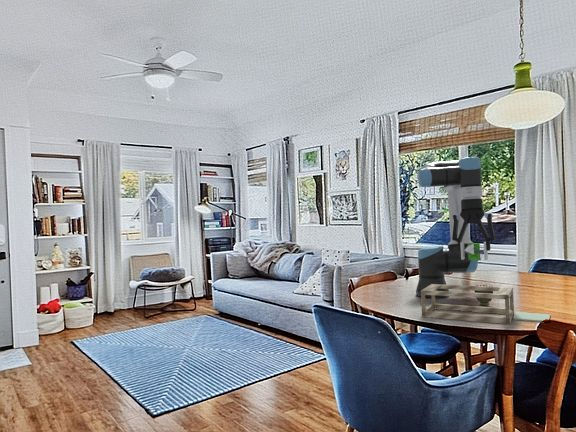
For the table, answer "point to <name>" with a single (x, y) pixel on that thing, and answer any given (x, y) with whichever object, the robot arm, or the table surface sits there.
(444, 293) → the crate
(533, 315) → the felt pad
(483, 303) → the cup
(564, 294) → the table surface
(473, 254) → the geometric puzzle
